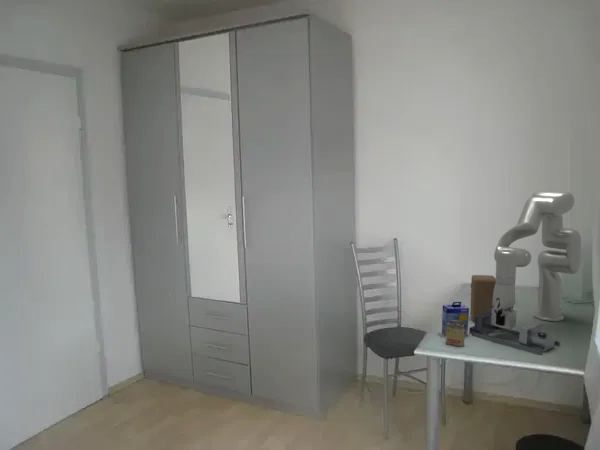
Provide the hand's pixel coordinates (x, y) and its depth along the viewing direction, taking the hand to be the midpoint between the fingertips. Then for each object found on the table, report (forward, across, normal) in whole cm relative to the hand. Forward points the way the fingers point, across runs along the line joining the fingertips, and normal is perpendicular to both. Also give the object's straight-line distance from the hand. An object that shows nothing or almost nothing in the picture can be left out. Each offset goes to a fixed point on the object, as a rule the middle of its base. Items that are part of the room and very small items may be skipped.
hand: (503, 323), depth 208 cm
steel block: (+1, 0, 0) cm, 1 cm away
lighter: (+6, +22, -8) cm, 24 cm away
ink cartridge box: (+6, +12, -15) cm, 20 cm away
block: (+6, -16, -19) cm, 26 cm away
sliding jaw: (+6, 0, +15) cm, 16 cm away
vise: (+6, 0, +4) cm, 7 cm away
